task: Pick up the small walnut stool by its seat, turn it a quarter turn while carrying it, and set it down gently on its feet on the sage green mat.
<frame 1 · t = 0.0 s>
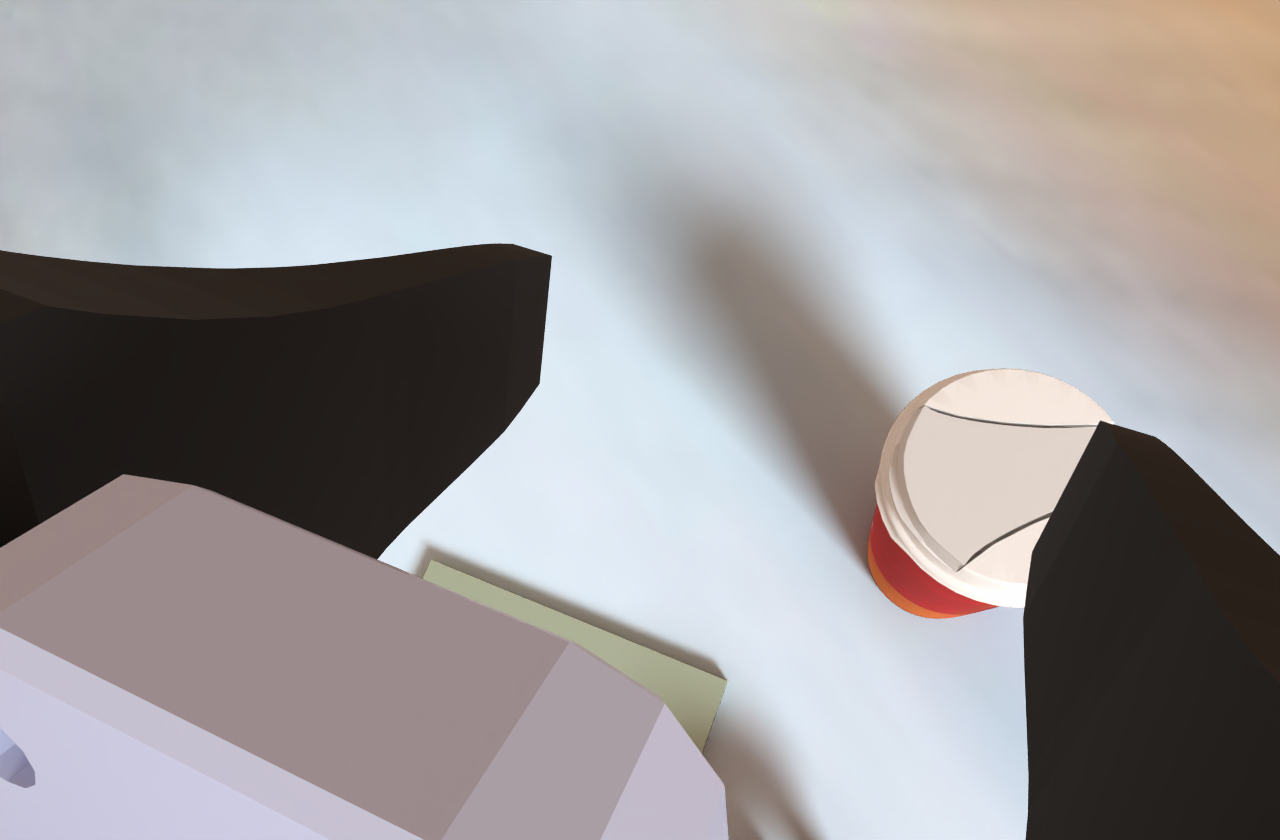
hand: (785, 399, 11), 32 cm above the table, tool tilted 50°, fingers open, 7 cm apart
coffee cup: (927, 557, 42), on the table
mat: (518, 759, 41), on the table
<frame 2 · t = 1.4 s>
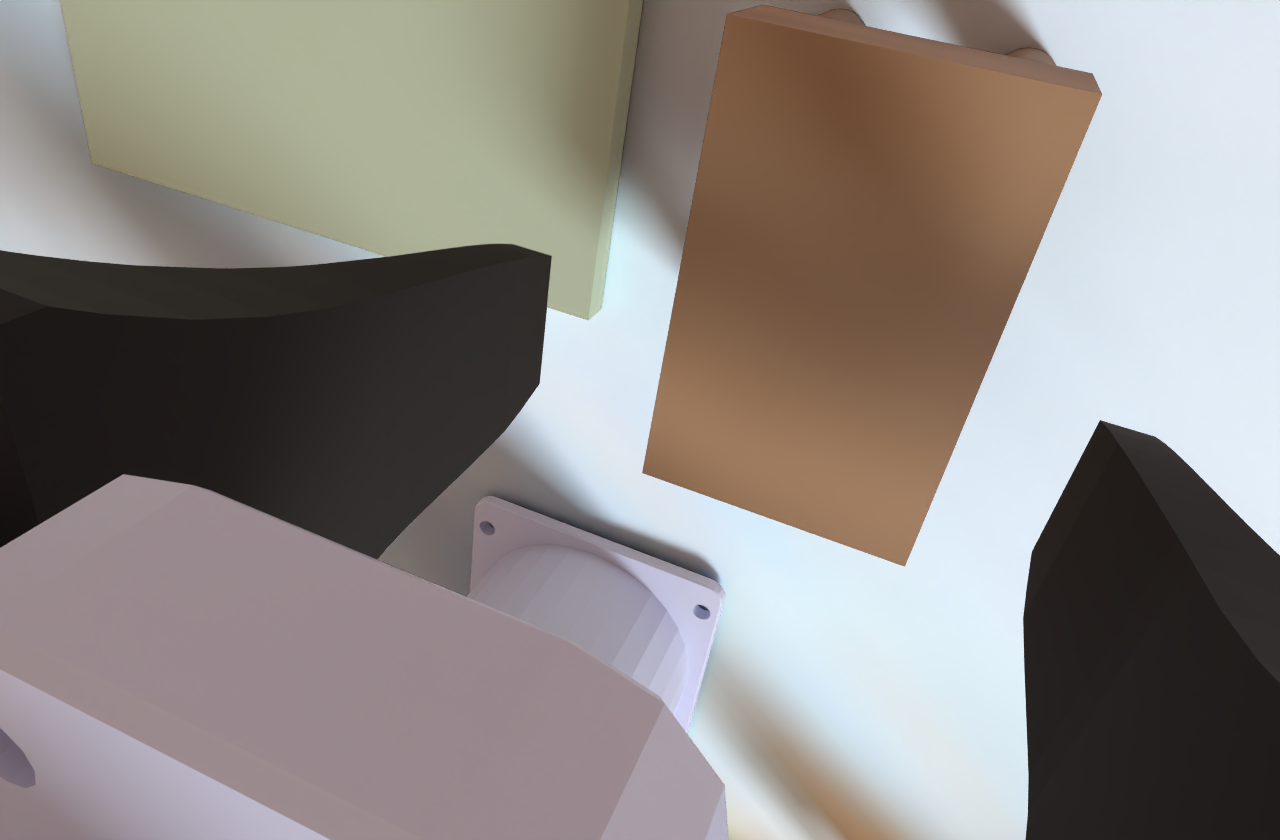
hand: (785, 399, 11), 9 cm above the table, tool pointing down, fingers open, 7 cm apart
stool: (879, 219, 18), on the table
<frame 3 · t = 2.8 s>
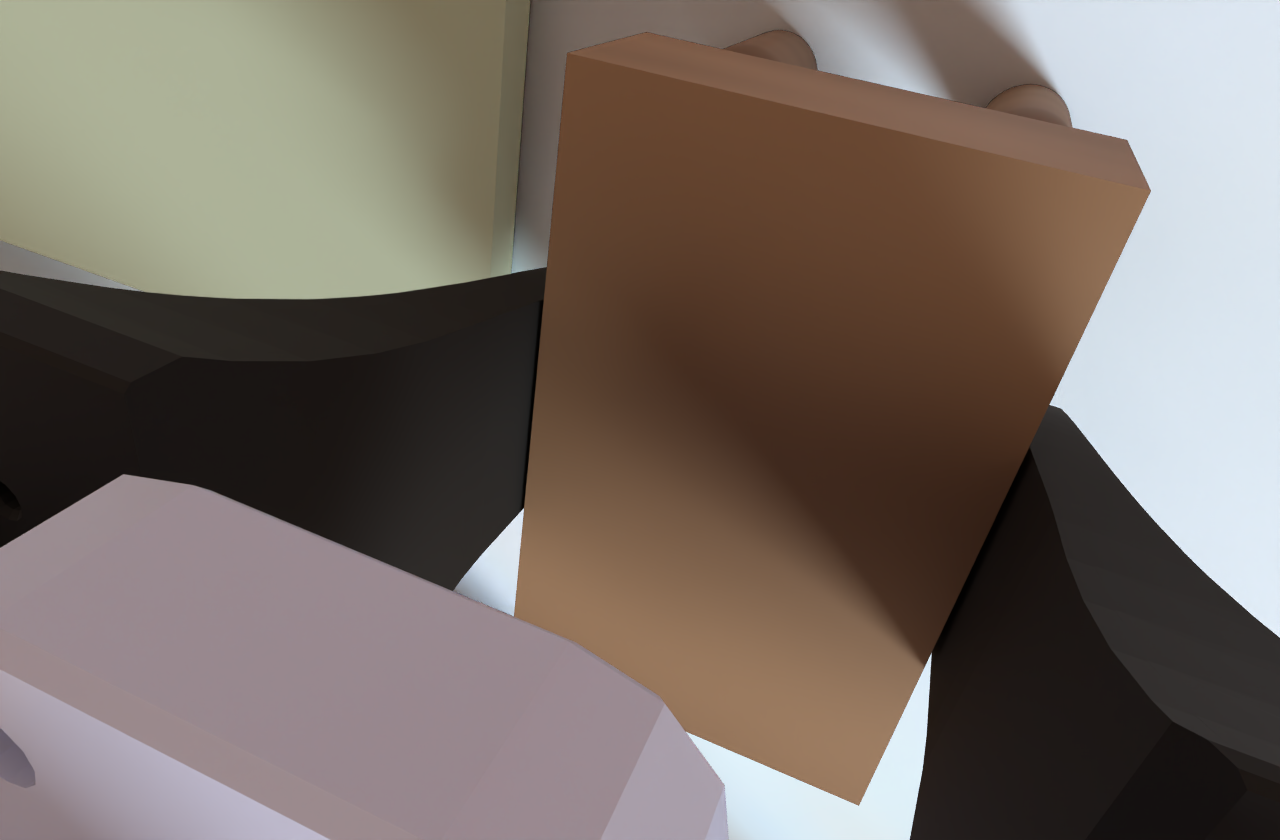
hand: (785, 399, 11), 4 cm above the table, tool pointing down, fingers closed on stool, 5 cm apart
stool: (836, 300, 14), on the table, touching gripper
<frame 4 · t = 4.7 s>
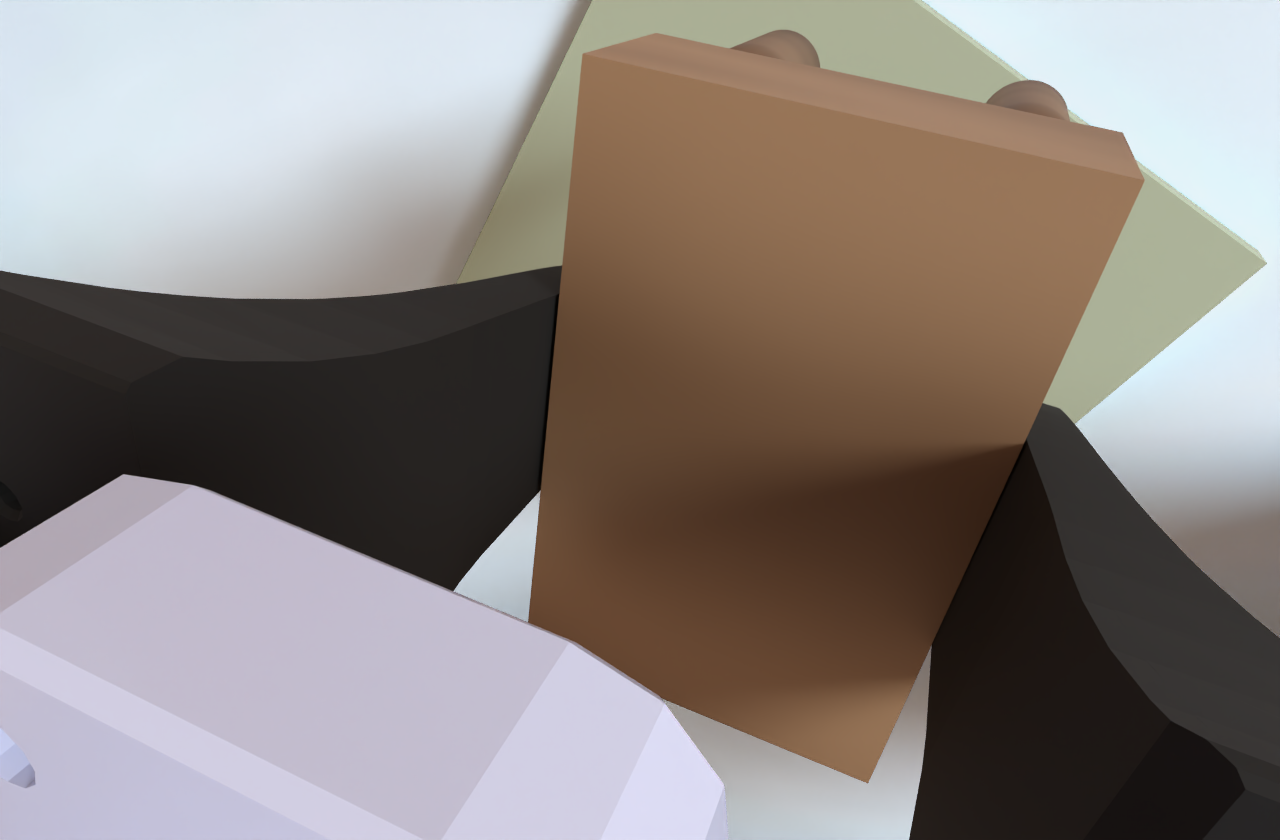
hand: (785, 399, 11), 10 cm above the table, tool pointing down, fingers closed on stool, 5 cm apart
stool: (841, 293, 15), point 6 cm above the table, touching gripper
mat: (747, 326, 22), on the table
when the fingers open (6 cm above the table, at t = 6.8 s): stool stays where it is, resting on mat.
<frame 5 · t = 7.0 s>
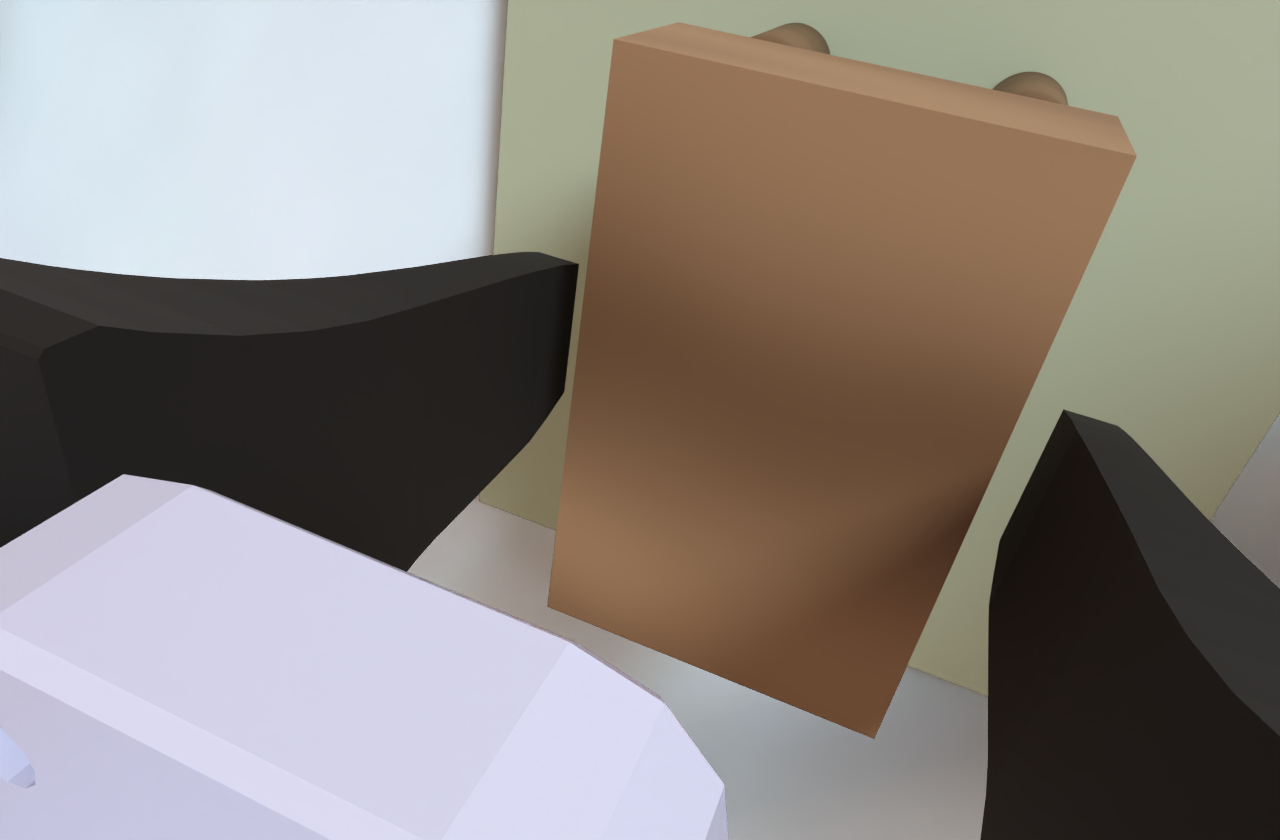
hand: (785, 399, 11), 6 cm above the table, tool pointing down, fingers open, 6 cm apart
stool: (848, 277, 15), point 1 cm above the table, touching mat
mat: (856, 264, 16), on the table
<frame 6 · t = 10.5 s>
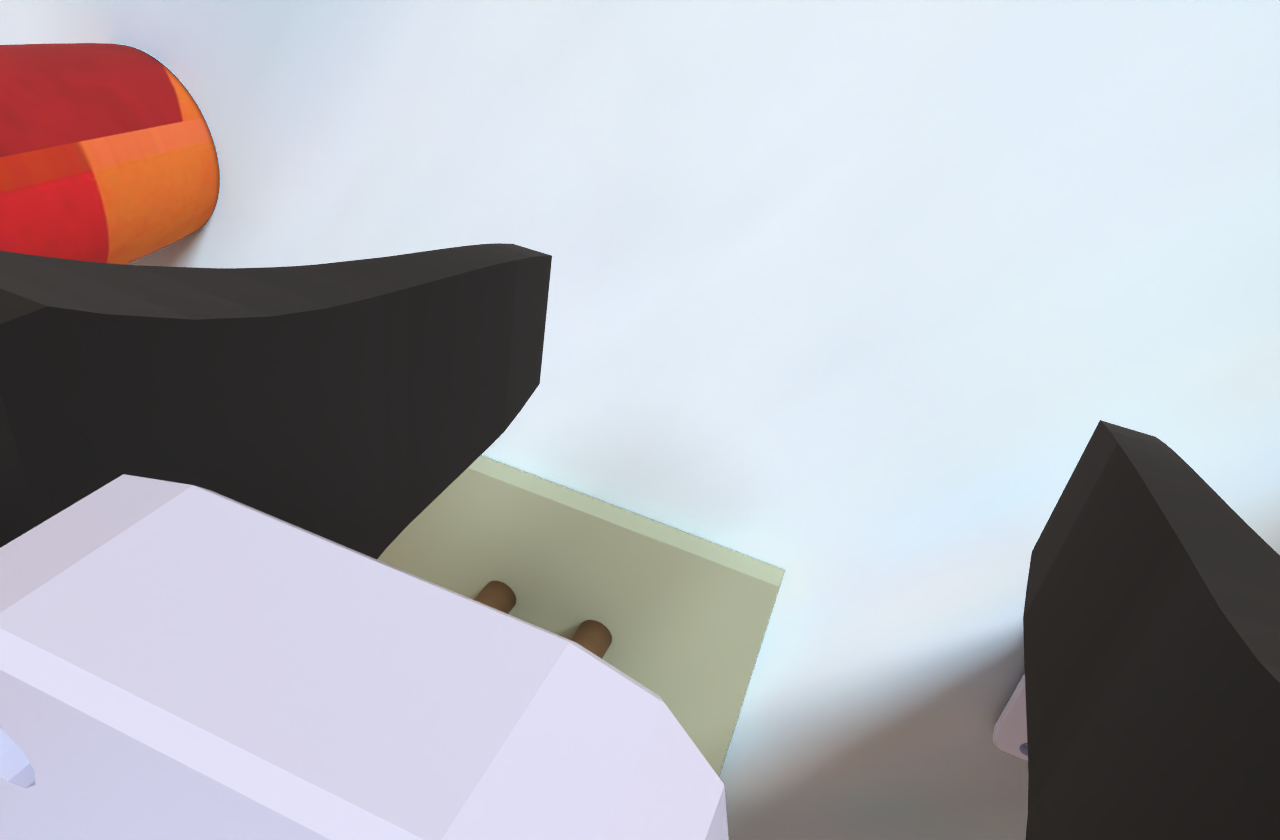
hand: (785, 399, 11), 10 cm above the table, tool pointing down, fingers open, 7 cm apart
stool: (539, 678, 31), point 1 cm above the table, touching mat
coffee cup: (152, 145, 28), on the table
mat: (549, 663, 32), on the table
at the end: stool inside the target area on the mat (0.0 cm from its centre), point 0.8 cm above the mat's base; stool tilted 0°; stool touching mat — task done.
